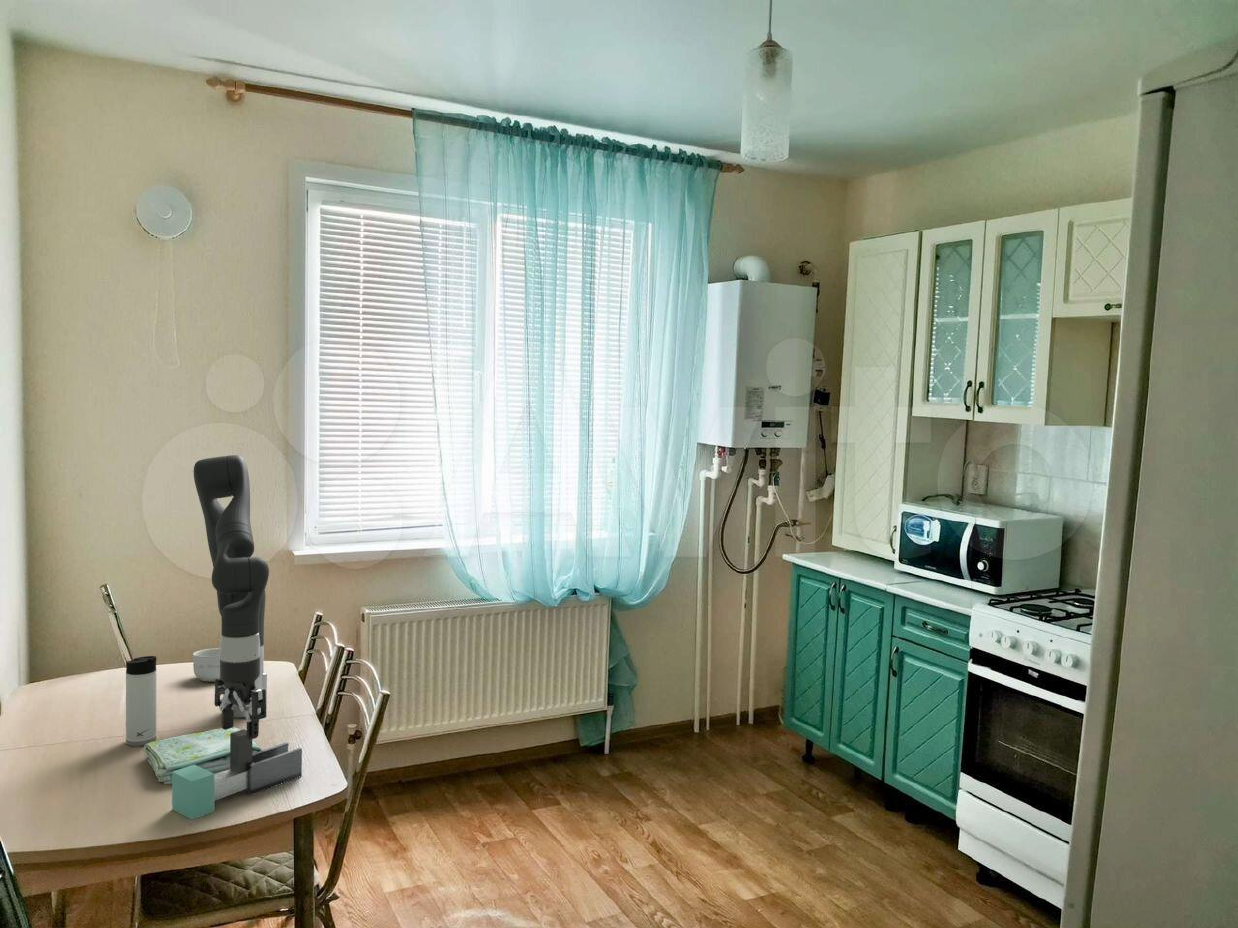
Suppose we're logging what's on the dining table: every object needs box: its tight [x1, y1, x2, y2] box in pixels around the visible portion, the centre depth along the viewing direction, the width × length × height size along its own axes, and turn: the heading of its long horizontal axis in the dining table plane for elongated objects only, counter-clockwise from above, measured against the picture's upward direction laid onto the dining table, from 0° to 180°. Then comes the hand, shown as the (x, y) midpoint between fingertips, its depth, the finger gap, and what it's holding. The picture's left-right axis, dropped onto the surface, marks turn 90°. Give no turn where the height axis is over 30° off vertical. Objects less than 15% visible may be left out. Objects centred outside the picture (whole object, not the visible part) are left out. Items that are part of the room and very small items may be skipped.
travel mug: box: [125, 655, 157, 747], centre depth 207 cm, size 6×7×20 cm
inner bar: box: [214, 728, 254, 801], centre depth 180 cm, size 14×4×11 cm, turn 146°
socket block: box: [171, 765, 215, 820], centre depth 174 cm, size 4×7×8 cm, turn 56°
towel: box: [143, 727, 263, 785], centre depth 198 cm, size 18×21×5 cm
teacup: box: [192, 647, 220, 682], centre depth 254 cm, size 14×11×8 cm
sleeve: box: [240, 742, 303, 796], centre depth 188 cm, size 12×5×6 cm, turn 146°
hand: (239, 733), depth 182 cm, fingers open, 8 cm apart
